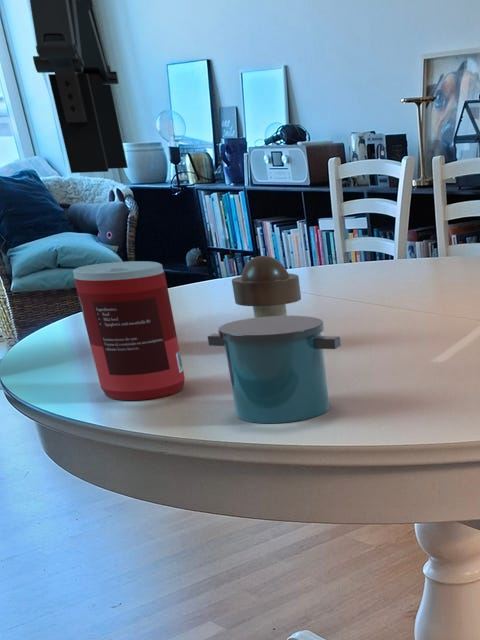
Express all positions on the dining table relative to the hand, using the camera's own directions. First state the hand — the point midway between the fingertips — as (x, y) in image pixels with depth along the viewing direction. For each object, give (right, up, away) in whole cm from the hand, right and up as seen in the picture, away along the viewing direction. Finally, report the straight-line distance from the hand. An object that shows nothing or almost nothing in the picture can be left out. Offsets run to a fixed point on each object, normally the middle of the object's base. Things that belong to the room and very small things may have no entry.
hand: (102, 170), depth 75 cm
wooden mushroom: (+9, -7, +25) cm, 27 cm away
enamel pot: (+15, -20, +1) cm, 25 cm away
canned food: (0, -16, +9) cm, 19 cm away
